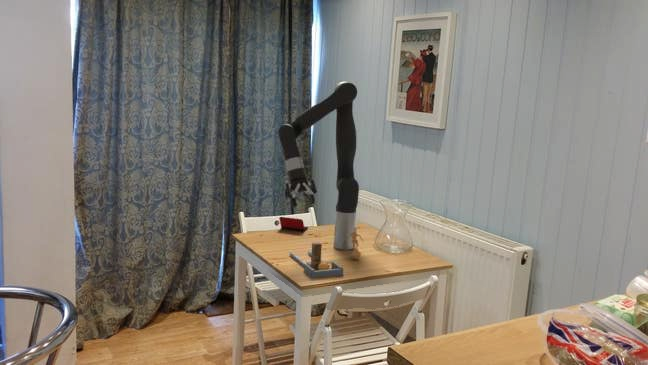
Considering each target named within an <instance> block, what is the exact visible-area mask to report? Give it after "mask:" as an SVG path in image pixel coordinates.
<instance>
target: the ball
mask: <svg viewBox="0 0 648 365" xmlns="http://www.w3.org/2000/svg"><path fill="white" fill-rule="evenodd" d="M328 264H329V263H328ZM328 264H327V263H325V262H321V263H320V264H319V265H318V271H319V270H330V266H329V265H330V264H329V265H328Z"/></svg>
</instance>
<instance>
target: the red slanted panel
mask: <svg viewBox="0 0 648 365" xmlns="http://www.w3.org/2000/svg"><path fill="white" fill-rule="evenodd" d="M278 219H279V224H280V229H281V230H285V231H295V232H301V233H302V232H303V233H305V232H306V231H307V230H308V229H309V226H305V224H304V221H303V219H302V218H294V217H285V216H279V217H278Z"/></svg>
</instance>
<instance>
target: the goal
mask: <svg viewBox="0 0 648 365" xmlns="http://www.w3.org/2000/svg"><path fill="white" fill-rule="evenodd" d="M303 272H304V273H306V274H307V275H308V276H309V277H310V278H311V279H318V278H328V277H341V276H343V275H344V269H343V266H341V265H340V264H339V263H337V262H336V261H333V260H332V261H331V269H330V268H329V270H318V271H315V270H314V269H313V268H312V267H310V266H309V265H308V264H307V263H306V264H304V267H303Z"/></svg>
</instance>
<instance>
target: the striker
mask: <svg viewBox="0 0 648 365" xmlns="http://www.w3.org/2000/svg"><path fill="white" fill-rule="evenodd" d="M322 245H323V244H322V243H321V242H312V243H311V252H312V255H311V256H310V257H311V258H310V260H311V261H309V262H307V261H306V264H308V265H309V266H310V267H312V268H313V269H314V270H315V271H319V270H318V265H319V264H320V263H321V262H325V263H327V264H329V263H328V262H329V261H326V260H325V259H322V247H323V246H322ZM321 259H322V261H321Z"/></svg>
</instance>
